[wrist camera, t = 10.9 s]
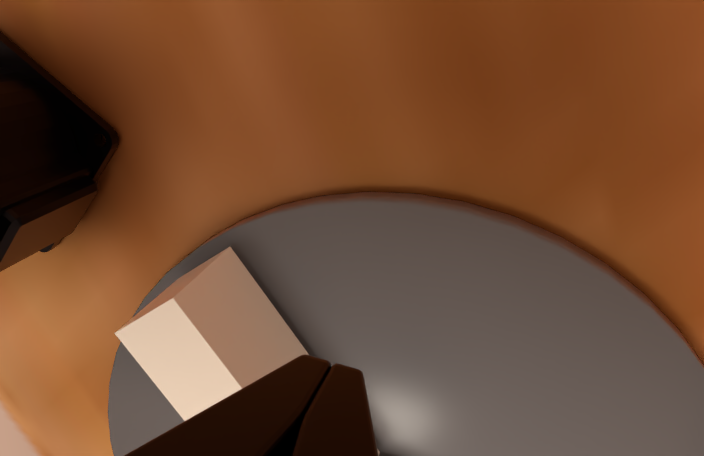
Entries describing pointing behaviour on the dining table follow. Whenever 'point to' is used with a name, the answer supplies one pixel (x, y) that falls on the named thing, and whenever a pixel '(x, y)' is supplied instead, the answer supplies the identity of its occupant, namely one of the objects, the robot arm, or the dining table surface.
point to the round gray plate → (455, 332)
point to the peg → (209, 335)
